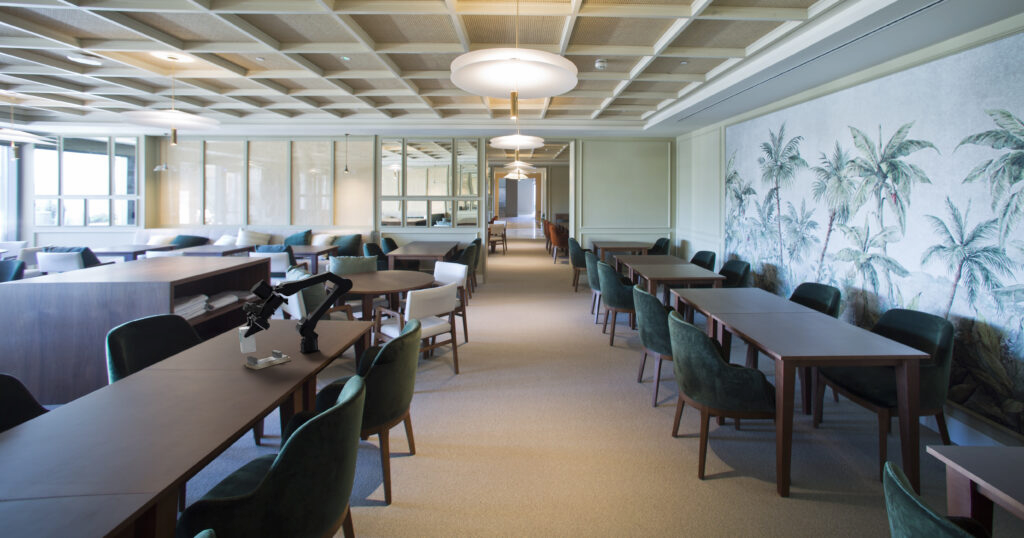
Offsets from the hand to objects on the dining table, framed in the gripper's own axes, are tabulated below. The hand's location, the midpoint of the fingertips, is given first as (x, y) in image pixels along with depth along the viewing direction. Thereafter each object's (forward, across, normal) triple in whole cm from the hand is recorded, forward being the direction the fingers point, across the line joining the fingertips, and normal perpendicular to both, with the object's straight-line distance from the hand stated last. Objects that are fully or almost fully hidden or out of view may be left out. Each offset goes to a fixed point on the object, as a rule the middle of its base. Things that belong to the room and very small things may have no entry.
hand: (243, 336), depth 213 cm
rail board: (+3, +7, +13) cm, 15 cm away
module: (+4, 0, +6) cm, 7 cm away
